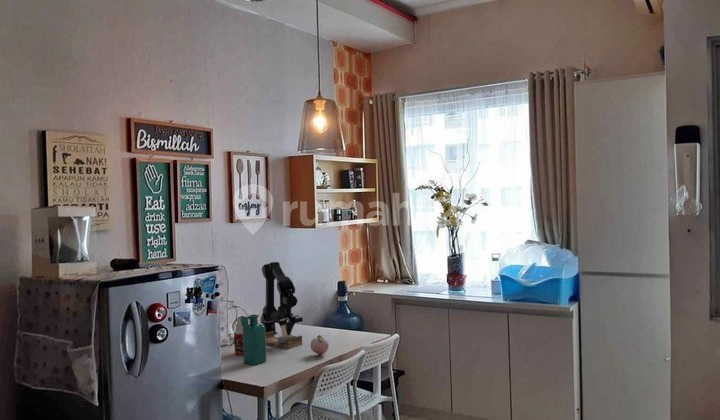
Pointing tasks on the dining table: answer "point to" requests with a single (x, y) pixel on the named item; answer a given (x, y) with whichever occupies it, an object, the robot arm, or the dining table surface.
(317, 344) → the decorative fruit
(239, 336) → the canned food
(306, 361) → the dining table surface
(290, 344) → the base
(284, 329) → the handle
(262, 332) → the pitcher
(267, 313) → the robot arm
